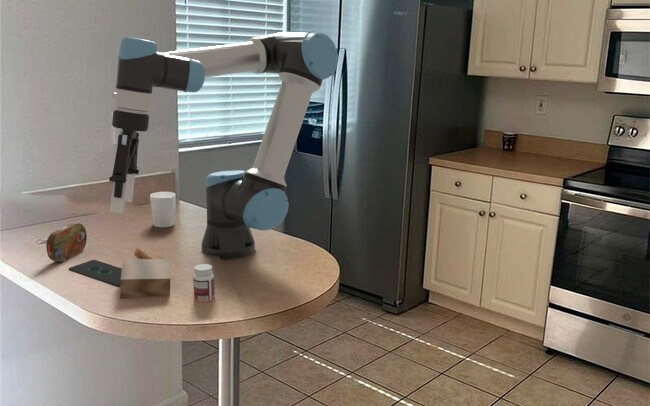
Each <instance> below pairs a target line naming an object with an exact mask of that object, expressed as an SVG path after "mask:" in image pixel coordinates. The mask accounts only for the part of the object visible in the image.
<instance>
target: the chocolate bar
mask: <svg viewBox="0 0 650 406" xmlns="http://www.w3.org/2000/svg"><path fill="white" fill-rule="evenodd" d="M134 254H135V255H134ZM133 255H134V256H136V257H137V258H138V259H153V258H152V257H151V256H149V255H148V254H147V253H145V252H144V251H143V250H141V248H139V247H136V249H135V252H134V253H133Z"/></svg>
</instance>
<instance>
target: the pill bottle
mask: <svg viewBox="0 0 650 406" xmlns="http://www.w3.org/2000/svg"><path fill="white" fill-rule="evenodd" d="M192 281H193V297H194V300H195V301H197V302H202V303H204V302H211V301H213V300H214V299H215V298H216V295H215V294H216V292H215V291H216V290H215V275H214V274H213V266H212V265H211V264H208V263H201V264H197V265H195V266H194V275H193V277H192Z"/></svg>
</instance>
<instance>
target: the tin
mask: <svg viewBox="0 0 650 406" xmlns="http://www.w3.org/2000/svg"><path fill="white" fill-rule="evenodd" d="M86 230H87V229H86V228H85V226H84V225H83V224H81V223H79V222H78V223H77V222H76V223H68V224H66V225H64V226H63V227H61V228H59V229H57V230H55V231H52V232H51V233H50V234H49V236H48V237H47V239H46V244H45V245H46V246H45V247H46V253H47V256H48V258H49V259H50V260H51V261H53V262H59V263H64V262H67V261H68V260H70V259H71V258H73V257H74V256H76V255H78V254H80V253H81V252H83V250H84V249H85V247H86V244H87V237H88V235H87V231H86Z"/></svg>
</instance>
